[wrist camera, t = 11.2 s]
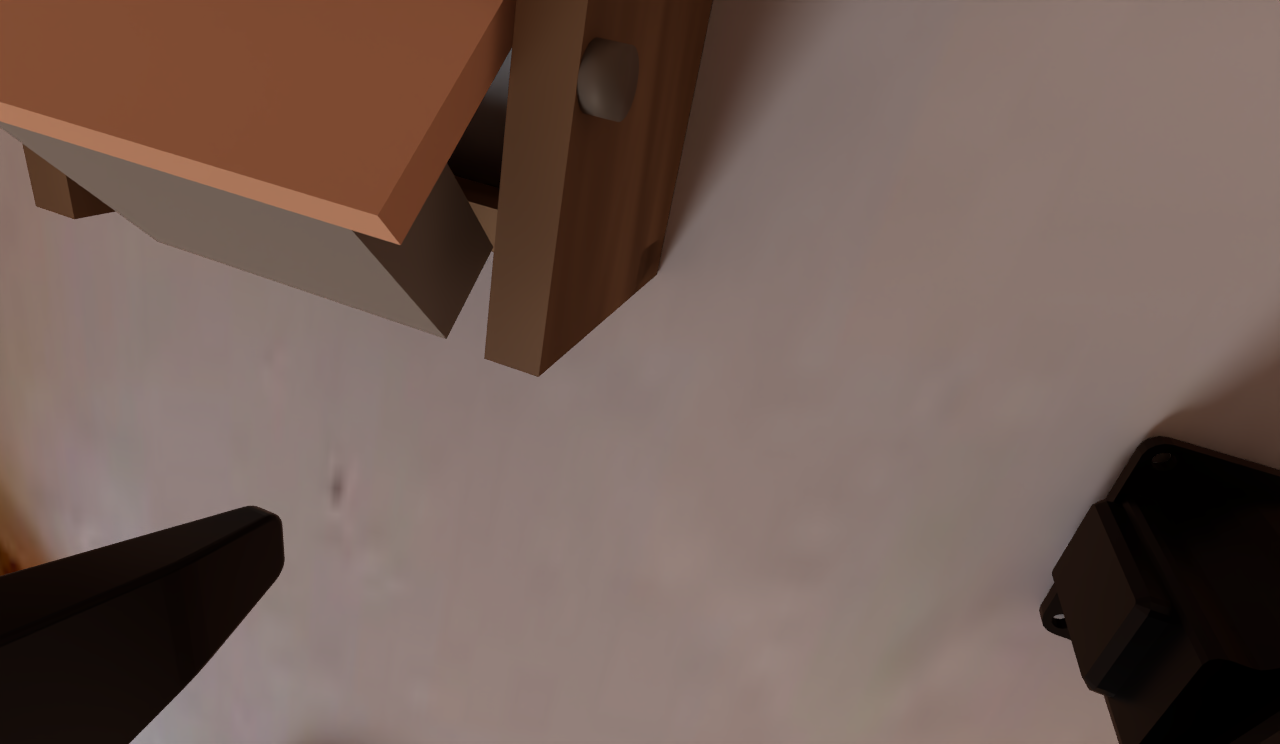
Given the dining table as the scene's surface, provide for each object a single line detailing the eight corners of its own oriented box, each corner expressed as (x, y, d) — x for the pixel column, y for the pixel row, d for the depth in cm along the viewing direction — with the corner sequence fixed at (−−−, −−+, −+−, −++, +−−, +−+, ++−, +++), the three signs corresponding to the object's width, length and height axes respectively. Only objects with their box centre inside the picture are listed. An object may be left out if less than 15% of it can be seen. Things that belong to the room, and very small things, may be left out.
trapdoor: (665, -14, 18) (649, -251, 13) (486, 355, 15) (377, 216, 10) (344, -78, 20) (230, -301, 16) (124, 232, 17) (-110, 69, 12)
